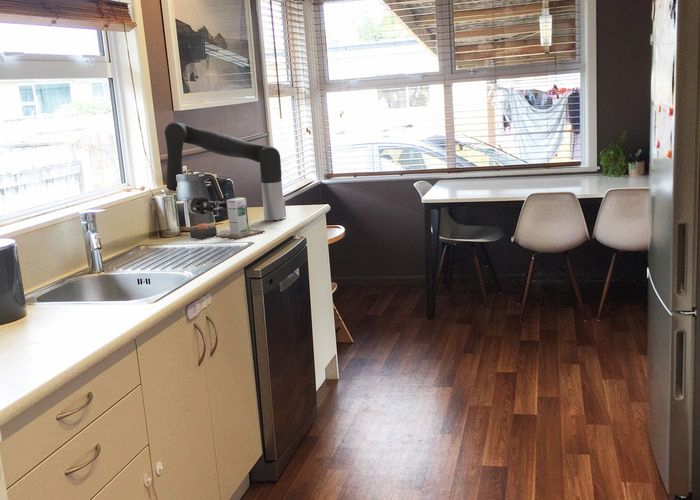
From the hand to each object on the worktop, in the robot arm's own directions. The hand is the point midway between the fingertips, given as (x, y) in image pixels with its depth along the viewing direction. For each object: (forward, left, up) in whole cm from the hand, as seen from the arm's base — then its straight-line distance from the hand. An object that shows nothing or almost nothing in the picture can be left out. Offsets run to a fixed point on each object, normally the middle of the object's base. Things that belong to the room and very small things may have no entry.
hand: (221, 207), depth 322 cm
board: (0, +11, -11) cm, 15 cm away
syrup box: (0, +11, -10) cm, 15 cm away
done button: (+10, -1, -9) cm, 13 cm away
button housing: (+10, -1, -11) cm, 15 cm away
